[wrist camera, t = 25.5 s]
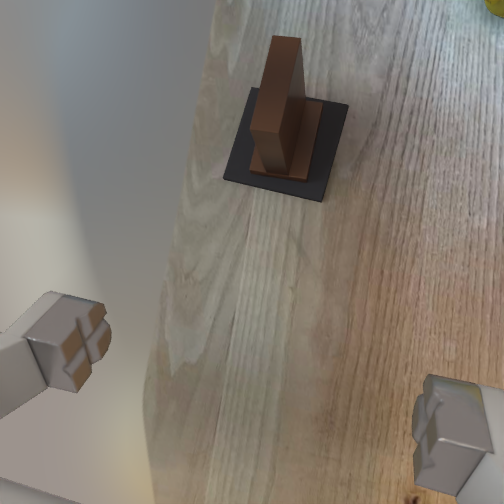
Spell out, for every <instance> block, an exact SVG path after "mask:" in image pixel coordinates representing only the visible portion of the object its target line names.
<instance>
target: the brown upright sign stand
mask: <svg viewBox="0 0 504 504" xmlns="http://www.w3.org/2000/svg"><path fill="white" fill-rule="evenodd" d="M322 112H323V103H321V102H313V101H306V95H305V82H304V70H303V57H302V45H301V38H296V37H285V36H275V35H273V36H272V40H271V44H270V48H269V52H268V56H267V61H266V65H265V69H264V73H263V77H262V81H261V85H260V89H259V93H258V97H257V101H256V106H255V110H254V114H253V118H252V122H251V126H250V131H251V134H252V136H253V139H254V142H255V148H254V152H253V156H252V160H251V165H250V169H249V170H250V172H251V174H256V175H262V176H268V177H274V178H280V179H286V180H292V181H298V182H304V183H307V180H308V175H309V171H310V166H311V162H312V157H313V153H314V148H315V144H316V139H317V134H318V130H319V125H320V121H321V116H322Z"/></svg>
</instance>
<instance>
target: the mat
mask: <svg viewBox="0 0 504 504" xmlns="http://www.w3.org/2000/svg"><path fill="white" fill-rule="evenodd" d="M258 93H259V88H254V87H251V91H250V94H249V97H248V100H247V103H246V106H245V110H244V113H243V116H242V119H241V122H240V125H239V129H238V132H237V135H236V138H235V141H234V144H233V148H232V151H231V154H230V157H229V160H228V164H227V167H226V170H225V173H224V176H223V179H224V180H228V181H233V182H237V183H241V184H245V185H250V186H254V187H258V188H262V189H267V190H271V191H275V192H279V193H284V194H288V195H292V196H296V197H301V198H305V199H309V200H313V201H318V202H322V199H323V196H324V192H325V189H326V185H327V182H328V178H329V175H330V171H331V167H332V164H333V160H334V157H335V153H336V150H337V146H338V143H339V139H340V136H341V132H342V128H343V125H344V121H345V118H346V114H347V111H348V107H349V105H347V104H341V103H336V102H331V101H325V100H320V99H314V98H309V97H306V101H313V102H321V103H323V112H322V116H321V121H320V125H319V130H318V134H317V139H316V144H315V148H314V153H313V157H312V162H311V166H310V171H309V175H308V180H307V183H304V182H298V181H292V180H286V179H280V178H274V177H268V176H262V175H256V174H251V172H250V170H249V169H250V165H251V160H252V156H253V152H254V148H255V142H254V139H253V136H252V134H251V131H250V126H251V122H252V118H253V114H254V110H255V106H256V101H257V97H258Z"/></svg>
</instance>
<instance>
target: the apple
mask: <svg viewBox="0 0 504 504" xmlns="http://www.w3.org/2000/svg"><path fill="white" fill-rule="evenodd" d="M484 1H485V4H486V6H487V8H488V10H489V11H490V12H491V13H493V14H495V15H497V16H500V17H503V18H504V0H484Z"/></svg>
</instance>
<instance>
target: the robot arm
mask: <svg viewBox="0 0 504 504" xmlns="http://www.w3.org/2000/svg"><path fill="white" fill-rule="evenodd" d="M106 313H107V312H106V309H105V306H104V304H102V303H99V302H95V301H91V300H87V299H83V298H79V297H75V296H71V295H66V294H62V293H58V292H53V291H49V292H47V293H45V294H43V295H42V296H41V297H40V298H39V299H38V300H37V301H36V302H35V303H34V304H33V305H32V306H31V307H30V308H29V309H28V310H27V311H26V312H25V313H24V314H23V315H22V316H20V318H18V319H17V320H16V321H15V322H14V323H13V324H12V325H11V326H10V327H9V328H8V329H7V330H6V331H5V332H4V333H2V332H0V419H1V418H3V417H4V416H6V415H8V414H9V413H11V412H12V411H14V410H15V409H17V408H18V407H20V406H21V405H23V404H24V403H26V402H27V401H29V400H30V399H32V398H34V397H35V396H37V395H38V394H40V393H41V392H43V391H44V390H46V389H47V386H48V387H52V388H57V389H61V390H65V391H69V392H73V393H78V391H79V390H80V389H81V387H82V386H83V384H84V383H85V382H86V380H87V379H88V378H89V376H90V375H91V373H92V364H94V363H95V362H97V361H99V360H101V359H102V358H103V356H104V355H105V353H106V352H107V350H108V347H109V345H110V342H111V328H110V325H109V324H108V323H107V322H106V321H105V320H104V316H105V315H106ZM423 392H424V393H423V394H421V395H419V396H418V397H417V399H416V402H415V405H414V409H413V415H412V437H413V439H414V440H415V441H416V443H417V444H418V445H417V447H416V450H415V452H414V454H413V466H414V484H415V485H418V486H421V487H424V488H428V489H431V490H434V491H438V492H441V493H444V494H448V495H451V496H455V497H456V498H455V499H456V501H457V503H458V504H504V391H503V390H502V389H498V388H494V387H489V386H484V385H480V384H475V383H472V382H467V381H462V380H457V379H452V378H447V377H443V376H438V375H433V374H428V375H427V376H426V378H425V380H424V383H423ZM0 504H81V503H77V502H75V501H72V500H69V499H65V498H62V497H59V496H56V495H53V494H50V493H47V492H44V491H41V490H38V489H35V488H32V487H29V486H26V485H23V484H20V483H16V482H14V481H11V480H8V479H5V478H2V477H0Z"/></svg>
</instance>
